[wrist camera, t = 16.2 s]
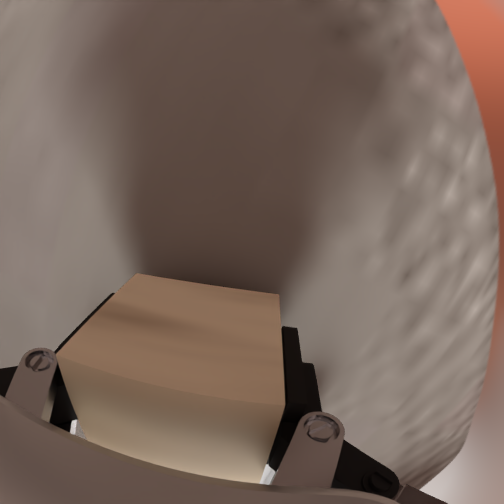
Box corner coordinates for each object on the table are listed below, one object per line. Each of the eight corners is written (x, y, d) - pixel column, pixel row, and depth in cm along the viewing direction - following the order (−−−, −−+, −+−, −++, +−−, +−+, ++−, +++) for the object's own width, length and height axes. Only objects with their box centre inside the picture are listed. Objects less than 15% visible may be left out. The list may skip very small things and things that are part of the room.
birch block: (258, 398, 13) (252, 501, 7) (144, 378, 13) (100, 466, 7) (278, 294, 11) (285, 405, 6) (136, 273, 11) (56, 354, 6)
